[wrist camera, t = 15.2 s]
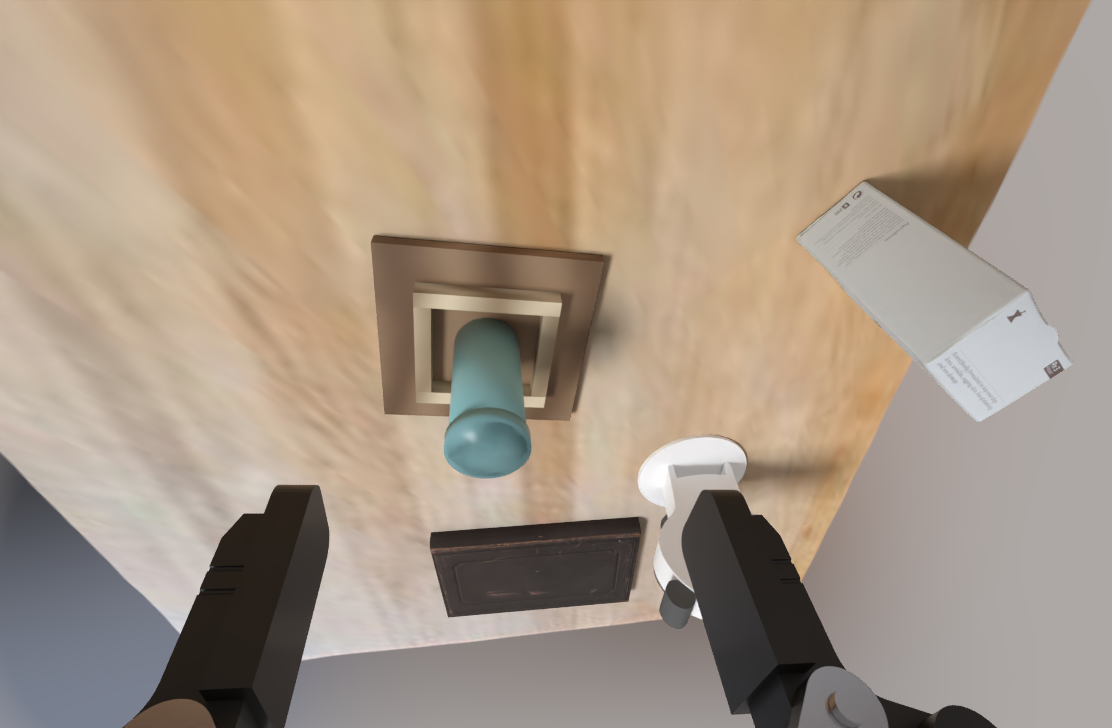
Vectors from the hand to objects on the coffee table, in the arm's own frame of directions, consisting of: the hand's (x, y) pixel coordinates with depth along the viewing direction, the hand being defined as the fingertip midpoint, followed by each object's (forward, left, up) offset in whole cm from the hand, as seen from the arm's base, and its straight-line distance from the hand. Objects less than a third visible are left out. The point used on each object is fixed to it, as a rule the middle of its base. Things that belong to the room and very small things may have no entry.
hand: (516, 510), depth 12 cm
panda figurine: (+22, -32, -28) cm, 48 cm away
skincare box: (+27, -5, -28) cm, 39 cm away
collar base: (0, -16, -28) cm, 32 cm away
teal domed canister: (0, -16, -27) cm, 31 cm away
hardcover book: (+8, -49, -29) cm, 58 cm away
